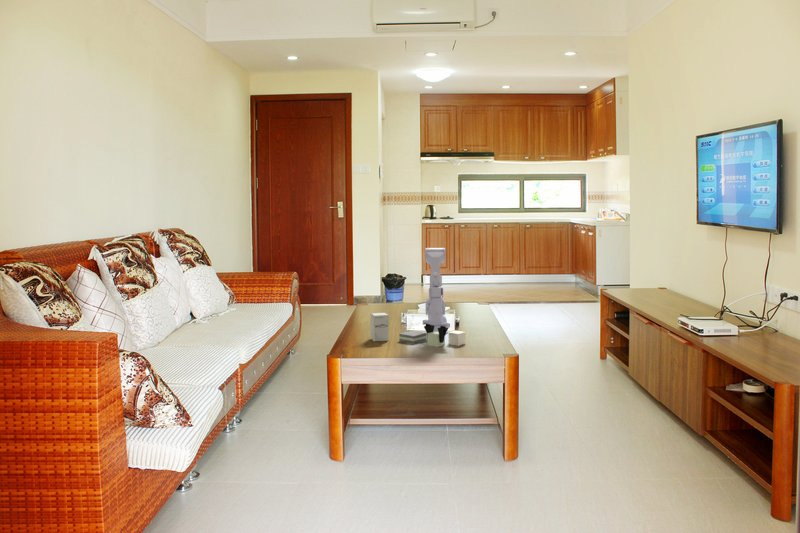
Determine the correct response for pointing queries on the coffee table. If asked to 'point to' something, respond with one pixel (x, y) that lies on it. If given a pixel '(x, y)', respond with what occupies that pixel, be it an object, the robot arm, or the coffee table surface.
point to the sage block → (434, 339)
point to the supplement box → (379, 327)
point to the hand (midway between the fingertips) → (436, 341)
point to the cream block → (456, 338)
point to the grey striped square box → (412, 337)
